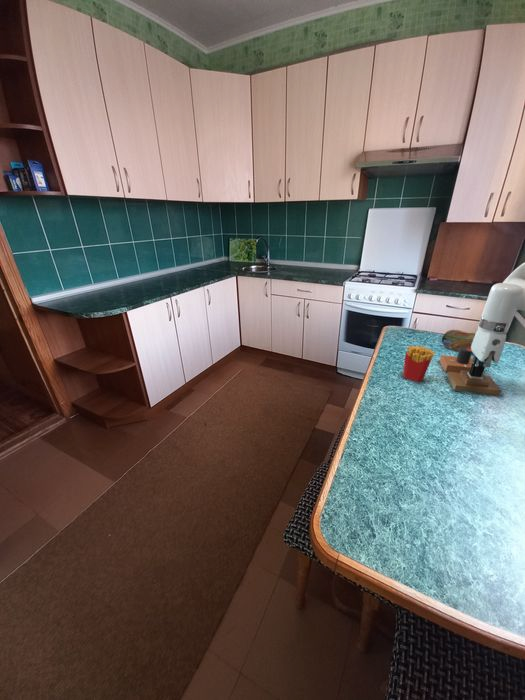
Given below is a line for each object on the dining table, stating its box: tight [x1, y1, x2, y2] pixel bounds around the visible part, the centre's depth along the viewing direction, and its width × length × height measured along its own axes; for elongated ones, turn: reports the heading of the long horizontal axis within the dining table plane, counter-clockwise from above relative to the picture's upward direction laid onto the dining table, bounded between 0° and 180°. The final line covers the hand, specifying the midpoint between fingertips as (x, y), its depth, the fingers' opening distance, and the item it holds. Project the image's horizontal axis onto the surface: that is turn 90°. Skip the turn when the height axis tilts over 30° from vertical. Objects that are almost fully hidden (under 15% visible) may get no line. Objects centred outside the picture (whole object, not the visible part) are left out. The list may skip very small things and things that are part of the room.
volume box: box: [439, 354, 486, 374], centre depth 109 cm, size 12×8×3 cm
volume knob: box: [456, 347, 473, 364], centre depth 107 cm, size 4×4×6 cm
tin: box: [441, 329, 476, 354], centre depth 121 cm, size 15×3×8 cm, turn 55°
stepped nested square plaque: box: [446, 370, 502, 397], centre depth 98 cm, size 13×9×4 cm
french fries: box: [402, 345, 435, 383], centre depth 102 cm, size 8×4×12 cm, turn 54°
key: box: [467, 372, 483, 380], centre depth 98 cm, size 4×4×2 cm
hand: (474, 375), depth 97 cm, fingers closed
